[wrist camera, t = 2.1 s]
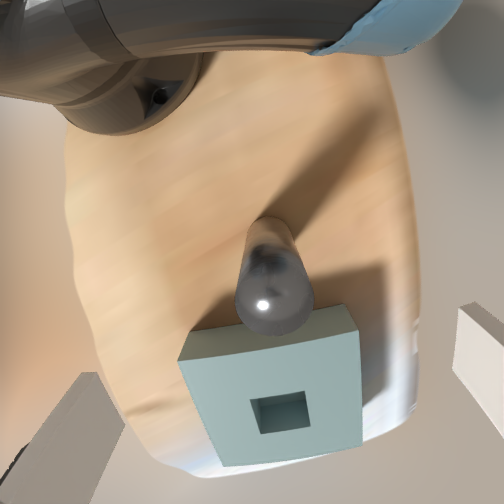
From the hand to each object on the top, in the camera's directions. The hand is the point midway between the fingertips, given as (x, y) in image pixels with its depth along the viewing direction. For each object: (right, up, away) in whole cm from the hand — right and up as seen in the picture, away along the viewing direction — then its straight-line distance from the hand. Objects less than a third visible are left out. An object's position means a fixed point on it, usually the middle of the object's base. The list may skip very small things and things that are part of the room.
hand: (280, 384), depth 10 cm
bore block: (+2, -10, +24) cm, 26 cm away
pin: (+1, +6, +20) cm, 20 cm away
